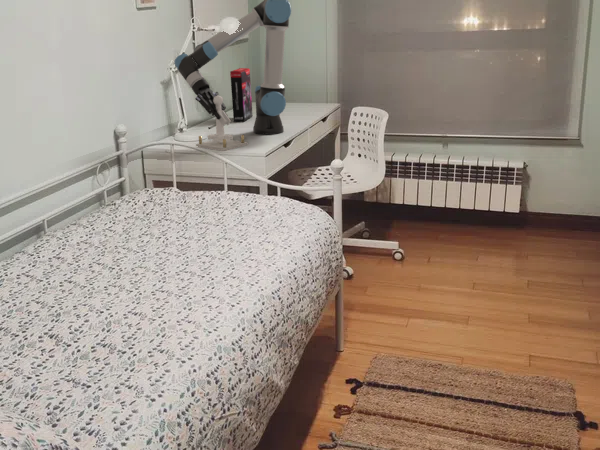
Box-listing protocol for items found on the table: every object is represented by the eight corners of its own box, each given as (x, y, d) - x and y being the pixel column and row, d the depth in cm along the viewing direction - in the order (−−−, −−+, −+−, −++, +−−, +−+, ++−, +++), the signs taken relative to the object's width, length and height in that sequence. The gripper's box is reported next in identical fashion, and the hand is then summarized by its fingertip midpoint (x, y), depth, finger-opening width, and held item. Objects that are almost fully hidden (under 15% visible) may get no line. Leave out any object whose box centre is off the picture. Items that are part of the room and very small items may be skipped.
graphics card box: (244, 122, 374) (242, 71, 366) (232, 122, 376) (229, 71, 367) (252, 117, 390) (250, 67, 382) (241, 117, 392) (238, 67, 383)
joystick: (233, 139, 315) (231, 94, 309) (226, 142, 308) (223, 97, 302) (212, 138, 319) (208, 94, 313) (204, 141, 312) (201, 96, 306)
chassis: (220, 140, 326) (219, 131, 325) (247, 144, 317) (247, 134, 315) (196, 146, 314) (195, 136, 313) (223, 150, 304) (222, 140, 303)
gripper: (206, 87, 322) (234, 126, 318) (182, 91, 311) (211, 131, 307) (213, 76, 318) (242, 115, 313) (189, 79, 306) (219, 120, 302)
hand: (227, 123), depth 310 cm, fingers closed on joystick, 2 cm apart
